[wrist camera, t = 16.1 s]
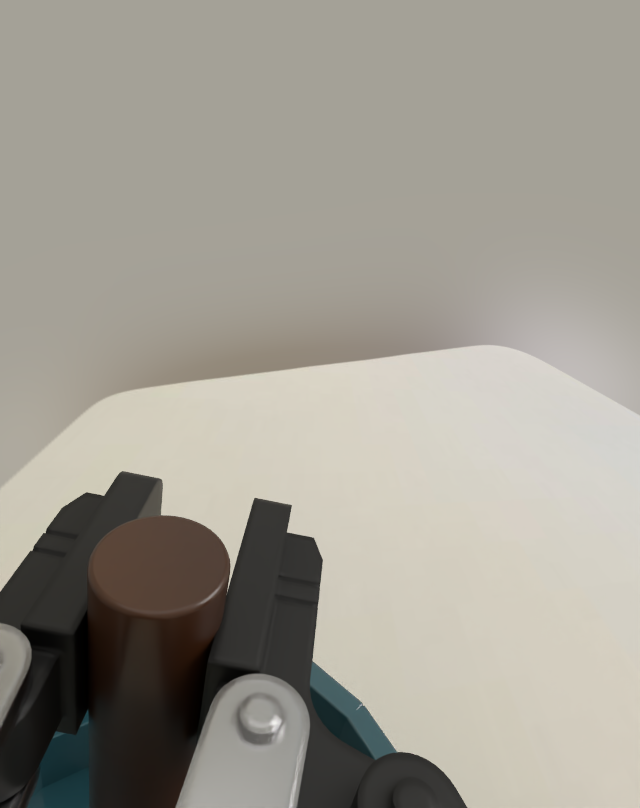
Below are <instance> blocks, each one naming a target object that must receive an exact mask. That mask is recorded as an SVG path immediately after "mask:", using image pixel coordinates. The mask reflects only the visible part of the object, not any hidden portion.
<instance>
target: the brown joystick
mask: <svg viewBox="0 0 640 808" xmlns="http://www.w3.org/2000/svg"><path fill="white" fill-rule="evenodd" d="M229 575H230V559H229V555H228V552H227V550H226V548H225V546H224V544H223V543H222V541H221V540H220V539H219V537H218V536H217V535H216V534H215V533H214V532H212V531H211V530H210V529H208V528H207V527H205V526H203V525H202V524H200V523H197V522H195V521H192V520H189V519H186V518H182V517H176V516H149V517H143V518H139V519H135V520H132V521H129V522H126V523H124V524H122V525H120V526H118V527H116V528H115V529H113V530H112V531H110V532H109V533H108V534H106V535H105V536H104V537H103V538H102V539H101V540H100V542H99V543H98V544H97V545H96V547H95V548H94V550H93V552H92V554H91V556H90V558H89V561H88V566H87V613H88V717H89V808H176V805H177V802H178V799H179V796H180V793H181V790H182V787H183V784H184V781H185V779H186V776H187V773H188V770H189V767H190V764H191V761H192V758H193V755H194V752H195V746H196V739H197V732H198V725H199V718H200V711H201V704H202V697H203V691H204V684H205V677H206V670H207V663H208V658H209V655H210V651H211V648H212V644H213V641H214V638H215V634H216V632H217V631H218V629H219V627H220V624H221V622H222V618H223V614H224V607H225V601H226V594H227V588H228V582H229Z"/></svg>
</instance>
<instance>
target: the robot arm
mask: <svg viewBox="0 0 640 808" xmlns="http://www.w3.org/2000/svg"><path fill="white" fill-rule="evenodd" d="M162 489H163V483H162V480H161V479H159V478H154V477H149V476H144V475H139V474H134V473H129V472H124V471H122V472H120V473H119V474H118V476H117V477H116V479H115V480H114V482H113V483H112V485H111V486H110V488H109V489H108V491H107V493H106V494H105V496H102V495H97V494H92V493H87V492H86V493H85V494H83V495H82V496H80V497H78V498H77V499H75V500H74V501H72V502H71V503H69V504H68V505H66V506H65V507H63V508H62V509H61V510H60V511H59V513H58V514H57V516H56V517H55V518H54V520H53V521H52V522H51V524H50V525H49V526H48V528H47V530H46V533H43V535H42V536H41V537H40V539H39V540H38V541H37V543H36V544H35V545H34V549H33V551H30V552H29V554H28V555H27V556H26V558H25V559H24V560H23V562H22V563H21V565H20V566H19V567H18V569H17V570H16V571H15V573H14V574H13V575H12V577H11V578H10V580H9V581H8V582H7V584H6V585H5V586H4V588H3V589H2V590H1V592H0V808H27V807H28V805H29V802H30V800H31V797H32V795H33V792H34V790H35V787H36V785H37V782H38V779H39V776H40V770H41V761H42V759H43V756H44V754H45V752H46V750H47V748H48V746H49V744H50V742H51V740H52V738H53V736H54V734H55V732H61V733H67V734H72V735H76V734H77V732H78V730H79V728H80V726H81V723H82V721H83V719H84V717H85V715H86V712H87V710H88V613H87V566H88V561H89V558H90V556H91V554H92V552H93V550H94V548H95V547H96V545H97V544H98V543H99V542H100V540H101V539H102V538H103V537H104V536H105V535H106V534H108V533H109V532H110V531H112V530H113V529H115V528H116V527H118V526H120V525H122V524H124V523H126V522H129V521H132V520H135V519H139V518H143V517H149V516H161V504H162ZM291 507H292V505H288V504H283V503H278V502H273V501H268V500H263V499H258V498H255V499H254V501H253V505H252V508H251V512H250V515H249V519H248V522H247V526H246V529H245V533H244V536H243V540H242V543H241V547H240V550H239V554H238V557H237V561H236V564H235V568H234V571H233V575H232V578H231V582H230V585H229V589H228V592H227V596H226V601H225V607H224V614H223V618H222V622H221V624H220V627H219V629H218V631H217V632H216V634H215V638H214V641H213V644H212V648H211V651H210V655H209V658H208V663H207V670H206V677H205V684H204V691H203V697H202V704H201V711H200V718H199V725H198V732H197V739H196V746H195V752H194V755H193V758H192V761H191V764H190V767H189V770H188V773H187V776H186V779H185V781H184V784H183V787H182V790H181V793H180V796H179V799H178V802H177V805H176V808H467V807H466V805H465V803H464V801H463V800H462V798H461V796H460V795H459V793H458V791H457V790H456V788H455V787H454V785H453V784H452V782H451V781H450V779H449V778H448V777H447V776H446V775H445V774H444V772H443V771H441V770H440V769H439V768H438V767H437V766H436V765H434V764H433V763H431V762H430V761H428V760H427V759H424V758H422V757H420V756H418V755H414V754H411V753H403V752H397V753H390V754H387V755H384V756H382V757H380V758H378V759H377V760H374V759H372V758H370V757H369V756H367V755H365V754H363V753H362V752H360V751H358V750H356V749H355V748H353V747H351V746H349V745H348V744H346V743H344V742H343V741H341V740H340V739H338V738H337V737H336V736H335V735H333V734H332V733H331V732H330V731H329V730H328V729H327V728H326V726H325V725H324V724H323V723H322V721H321V720H320V718H319V717H318V715H317V713H316V711H315V709H314V706H313V703H312V700H311V694H310V677H311V668H312V658H313V648H314V639H315V629H316V620H317V610H318V608H317V607H318V600H319V591H320V588H319V587H320V581H321V571H322V562H323V560H322V557H321V555H320V552H319V550H318V547H317V545H316V542H315V540H314V538H312V537H307V536H302V535H297V534H292V533H287V528H288V523H289V517H290V512H291Z"/></svg>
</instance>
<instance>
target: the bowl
mask: <svg viewBox="0 0 640 808" xmlns="http://www.w3.org/2000/svg"><path fill="white" fill-rule="evenodd" d="M310 694H311V700H312V703H313V706H314V709H315V711H316V713H317V715H318V717H319V718H320V720H321V721H322V723H323V724H324V725H325V726H326V728H327V729H328V730H329V731H330V732H331V733H332V734H333V735H335V736H336V737H337V738H338V739H340V740H341V741H343V742H344V743H346V744H348V745H349V746H351V747H353V748H355V749H356V750H358V751H360V752H362V753H363V754H365V755H367V756H369V757H370V758H372V759H374V760H377V759H378V758H380V757H382V756H384V755H387V754H390V753H397V751H396V750H395V749H394V747H393V746H392V744H391V743H390V741H389V740H388V739H387V737H386V736H385V734H384V733H383V731H382V730H381V729H380V727H379V726H378V724H377V723H376V721H375V720H374V719H373V717H372V716H371V714H370V713H369V711H368V710H367V708H366V707H365V706H363V704H362V702H361V701H359V700H358V699H357V698H356V697H355V696H353V695H352V694H351V693H350V692H349V691H347V690H346V689H345V688H344V687H343V686H341V685H340V684H339V683H338V682H337V681H336V680H334V679H333V678H332V677H331V676H330V675H328V674H327V673H326V672H325V671H324V670H322V669H321V668H320V667H319V666H318V665H316V664H315V663H314V662H313V661H312V668H311V677H310ZM27 808H89V717H88V710H87V712H86V715H85V717H84V719H83V721H82V723H81V726H80V728H79V730H78V732H77V734H76V735H72V734H67V733H61V732H55V734H54V736H53V738H52V740H51V742H50V744H49V746H48V748H47V750H46V752H45V754H44V756H43V759H42V761H41V770H40V776H39V779H38V782H37V785H36V787H35V790H34V792H33V795H32V797H31V800H30V802H29V805H28V807H27Z"/></svg>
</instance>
